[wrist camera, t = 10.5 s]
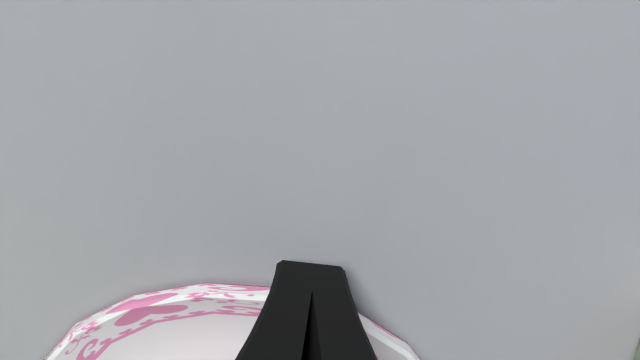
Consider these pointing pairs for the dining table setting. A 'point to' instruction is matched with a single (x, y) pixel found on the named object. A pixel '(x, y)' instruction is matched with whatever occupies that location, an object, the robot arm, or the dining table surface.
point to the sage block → (637, 352)
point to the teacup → (188, 327)
